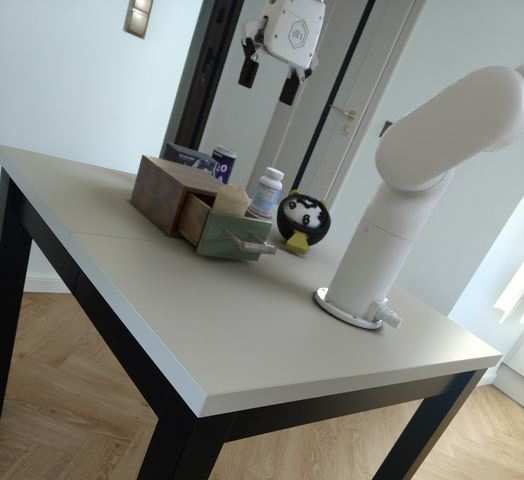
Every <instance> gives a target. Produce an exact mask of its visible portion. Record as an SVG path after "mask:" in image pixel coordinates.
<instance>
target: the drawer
mask: <svg viewBox="0 0 524 480" xmlns="http://www.w3.org/2000/svg"><path fill="white" fill-rule="evenodd" d="M215 199H216V197H213V196H209V195H204V194H199V193H195V192H190V191H186V195H185V198H184V201H183V204H182V208H181V211H180V214H179V217H178V221H177V224H176V227H175V229H176V230H177V231H178V232H179V233H181V234H182V235H183V236H184V237H185V238H184V239H186V240H187V241H189V242H190V243H191V244H192V245H193V246H194V247H196V253H197V254H198V255H199V256H205V257H214V258H223V259H231V260H232V259H234V260H241V261H251V262H259V260H260V257H261V254H265V255H272V256H273V255H276V253H277V250H278V249H277V247H276V246H275V245H269V244H268V243H267V242H266V241H267V239H268V236H269V234H270V231H271V229H272V226H273V223H272V222H271V221H269V220H265V219H261V217H259V215H258V214H256V213H254V212H252V211H251V210H250V209H248V208H247V210H246V212H245V215H244V216H239V215H234V214H229V213H223V212H218V211H213V209H212V208H213V205H214V202H215Z"/></svg>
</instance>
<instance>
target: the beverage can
mask: <svg viewBox="0 0 524 480" xmlns="http://www.w3.org/2000/svg"><path fill="white" fill-rule="evenodd" d="M210 156H211V157H212V158H213V159H214V160H216V161H217V162H218V163H219V164H220V165H219V167H218V170H217V173H216V176H215V178H217V179H218V180H220V181H221V182H223V183H224V184H225V185H227V184H229V180H230V178H231V176H232V175H231V174H232V171H233V169H234V166H235V163H236V160H237V151H235V150H233V149H232V148H230V147H227V146H225V145H221V144H216V146H215V147H214V148H213V150H212V154H211V155H210Z"/></svg>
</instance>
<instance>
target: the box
mask: <svg viewBox="0 0 524 480" xmlns="http://www.w3.org/2000/svg"><path fill="white" fill-rule="evenodd" d="M211 156H212V155H209V154H207V153H204V152H201V151H197V150H194V149H191V148H188V147H186V146H185V147H184V146H182V145H178V144H175V143H172V142H169V141H167V142H166V144H165V148H164V151H163V155H162V158H161V159H163V160H167V161H171V162H175V163H179V164H183V165H187V166H191V167H194V168H198V169H202V170H205V171H206V172H208V173H209V174H211V175H212V176H214V177H215V176H216V173H217V170H218V167H219V165H220V164H219V163H218V162H217V161H216V160H214V159H213V158H212V157H211Z"/></svg>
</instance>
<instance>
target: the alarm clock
mask: <svg viewBox="0 0 524 480" xmlns="http://www.w3.org/2000/svg"><path fill="white" fill-rule="evenodd" d="M328 207H329V206H328V203H327V201H326V200H324V199H321V200H319V199H317V198H315V197H313V196H311V195H307V194H303V193H301V192H300V191H299V190H298V189H293V190H291V191H290V192H289V195H287V196H286V197H284V198H283V199H282V200H281V201H280V203H279V204H278V207H277V210H276V227H277V229H278V232H279V234H280V235H281V237H282V238H283V239H284V240H285V242H286V243H285V246H284V247H285V249H286V250H288V251H291V252H294V253H296V254H300V255H303V256H305V255H307V254H308V252H309V251H310V247H313V246H314V245H317V244H318V243H319V242H322V241H323V239H324V238H325V237H326V235H328V232H329V230H330V228H331V224H332V218H331V214H330V212H329V210H328Z"/></svg>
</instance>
